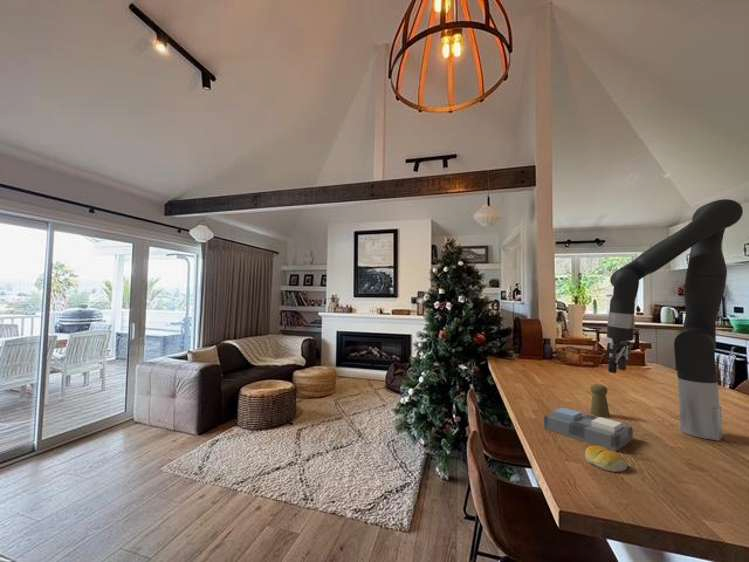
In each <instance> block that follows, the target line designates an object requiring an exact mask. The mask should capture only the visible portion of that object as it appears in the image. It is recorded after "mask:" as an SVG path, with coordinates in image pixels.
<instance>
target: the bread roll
mask: <svg viewBox="0 0 749 562" xmlns="http://www.w3.org/2000/svg"><path fill="white" fill-rule="evenodd" d="M584 458H585V460H586V462H588V463H589V464H591V465H593V466H595V467H597V468H598V469H601V470H604V471H607V472H615V473H617V472H619V473H620V472H624V471H626V470H627V467H628V463H627V460H626V459H625V458H624V457H623V456H622V455H621V454H620V453H618V451H616V452H615V451H612V450H609V449H607V448H605V447H602V446H596V445H591V446H588V447H587V448H585V452H584Z"/></svg>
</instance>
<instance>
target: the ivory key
mask: <svg viewBox="0 0 749 562" xmlns="http://www.w3.org/2000/svg"><path fill="white" fill-rule="evenodd" d="M597 417H598V416H597ZM622 424H623V422H620V421H616V420H612V419H609V418H606V417H598V418H596V419H594V420H592V421H591V426H592V427H596V428H599V429H603V430H606V431H610V432H613V433H616V432H618V431H620V430H621V429H622Z"/></svg>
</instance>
